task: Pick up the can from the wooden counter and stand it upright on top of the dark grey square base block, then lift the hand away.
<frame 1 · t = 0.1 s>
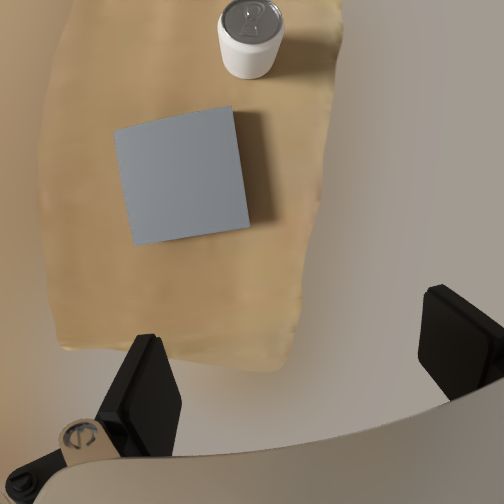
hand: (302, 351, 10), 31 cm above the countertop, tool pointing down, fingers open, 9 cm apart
base block: (185, 175, 39), on the countertop
can: (248, 57, 35), on the countertop
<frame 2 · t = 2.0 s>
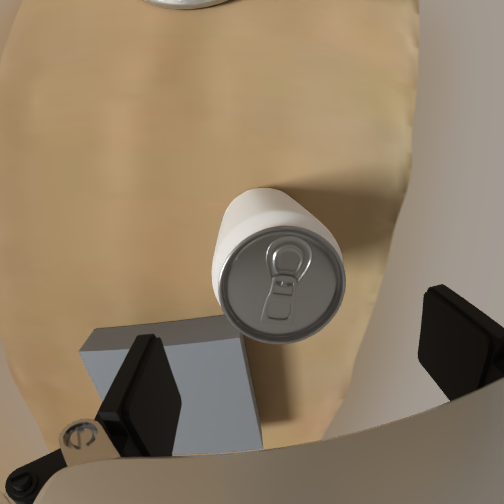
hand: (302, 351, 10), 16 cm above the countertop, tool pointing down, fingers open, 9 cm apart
base block: (180, 382, 29), on the countertop
can: (262, 227, 25), on the countertop
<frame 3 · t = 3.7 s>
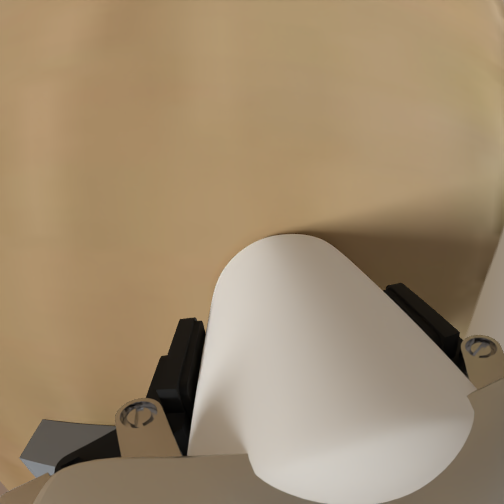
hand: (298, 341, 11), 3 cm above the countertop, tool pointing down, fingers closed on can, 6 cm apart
base block: (164, 486, 18), on the countertop
can: (286, 301, 14), on the countertop, touching gripper
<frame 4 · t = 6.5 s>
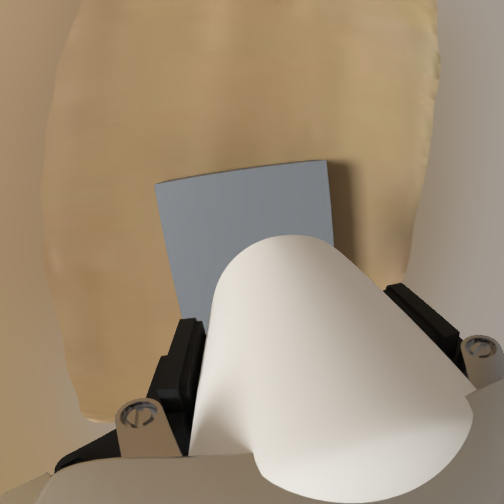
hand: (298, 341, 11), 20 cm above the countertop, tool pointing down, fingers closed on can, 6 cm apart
base block: (250, 242, 31), on the countertop
can: (286, 302, 14), point 17 cm above the countertop, touching gripper
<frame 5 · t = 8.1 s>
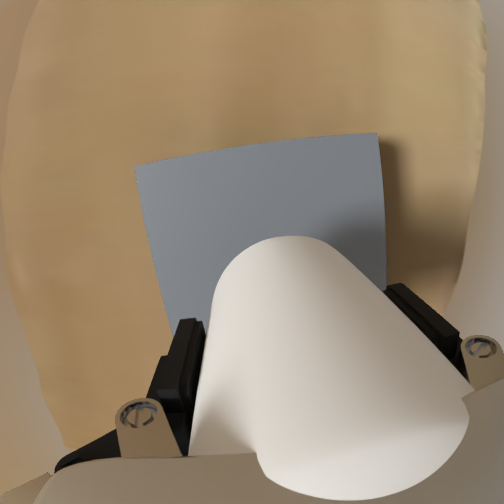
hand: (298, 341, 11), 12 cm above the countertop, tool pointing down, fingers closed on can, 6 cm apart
base block: (269, 247, 22), on the countertop
can: (286, 302, 14), point 9 cm above the countertop, touching gripper
when the fingers open (9 cm above the countertop, at t = 9.2 s): can drops 2 cm, resting on base block.
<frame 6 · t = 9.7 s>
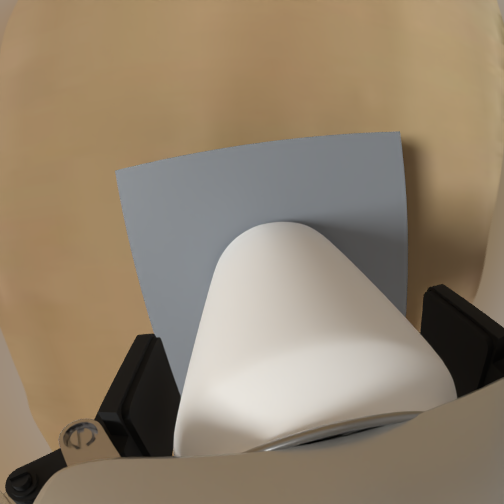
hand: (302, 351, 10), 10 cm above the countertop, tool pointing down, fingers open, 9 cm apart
base block: (273, 262, 20), on the countertop
can: (278, 282, 16), point 4 cm above the countertop, touching base block
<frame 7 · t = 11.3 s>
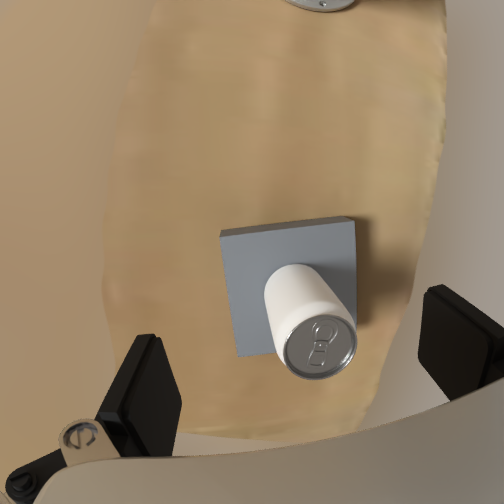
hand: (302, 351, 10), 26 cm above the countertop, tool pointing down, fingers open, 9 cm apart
base block: (289, 281, 38), on the countertop
can: (293, 291, 34), point 4 cm above the countertop, touching base block
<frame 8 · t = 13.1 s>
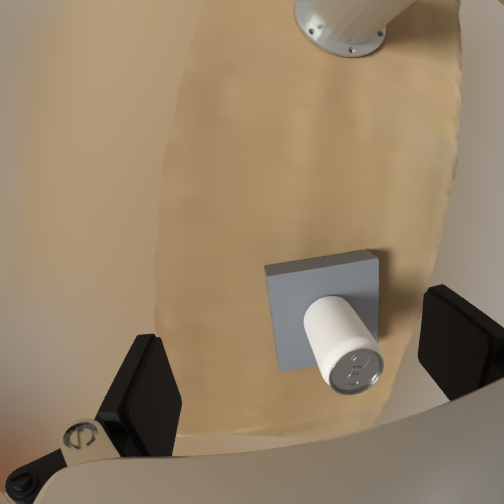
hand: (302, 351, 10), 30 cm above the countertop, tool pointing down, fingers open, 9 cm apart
base block: (321, 305, 43), on the countertop
can: (327, 316, 39), point 4 cm above the countertop, touching base block
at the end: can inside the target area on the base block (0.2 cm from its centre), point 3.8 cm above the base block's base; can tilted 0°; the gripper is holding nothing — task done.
